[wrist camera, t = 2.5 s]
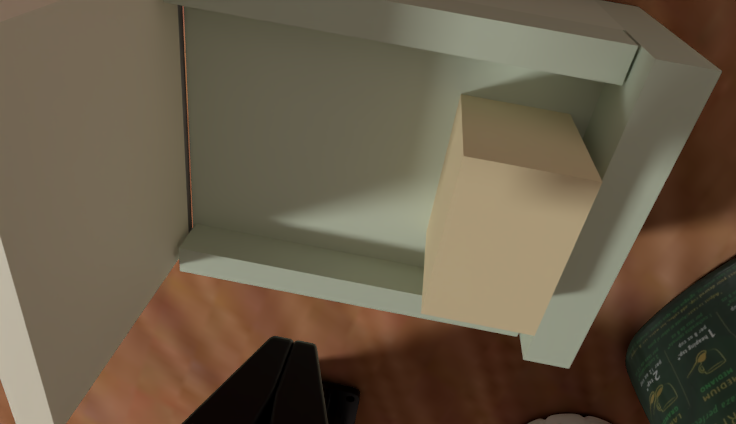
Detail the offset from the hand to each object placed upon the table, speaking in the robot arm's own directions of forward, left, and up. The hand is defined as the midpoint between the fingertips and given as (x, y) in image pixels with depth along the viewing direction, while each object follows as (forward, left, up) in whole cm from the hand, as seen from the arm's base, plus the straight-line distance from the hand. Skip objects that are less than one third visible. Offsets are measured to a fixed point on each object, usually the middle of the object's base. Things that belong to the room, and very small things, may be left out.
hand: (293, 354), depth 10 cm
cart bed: (0, 0, -12) cm, 13 cm away
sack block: (0, -4, -8) cm, 10 cm away
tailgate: (0, +7, -5) cm, 8 cm away
